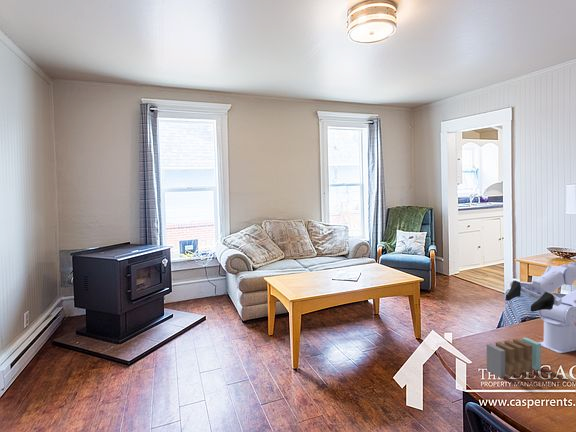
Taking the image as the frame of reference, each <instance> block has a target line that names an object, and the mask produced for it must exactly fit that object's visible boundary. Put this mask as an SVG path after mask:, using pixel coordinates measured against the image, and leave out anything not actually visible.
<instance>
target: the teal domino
mask: <svg viewBox="0 0 576 432" xmlns="http://www.w3.org/2000/svg"><path fill="white" fill-rule="evenodd" d="M521 341H523V342H526V343H528V344H530V345H532V370H536V371H539V370H541V368H542V365H541V364H542V360H541V359H542V346H541V344H540V343H538V342H539V341H535V340H533V339H531V338H528V337H526V336H525V337H522V338H521Z"/></svg>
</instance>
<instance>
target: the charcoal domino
mask: <svg viewBox="0 0 576 432" xmlns="http://www.w3.org/2000/svg"><path fill="white" fill-rule="evenodd" d="M486 371H488V372H490V373H492V374H493V375H495V376H497V377H498V378H500V379H502V378H506V373H505V350H503V349H501V348H499V347H497V346H496V344H493V343H487V344H486Z"/></svg>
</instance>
